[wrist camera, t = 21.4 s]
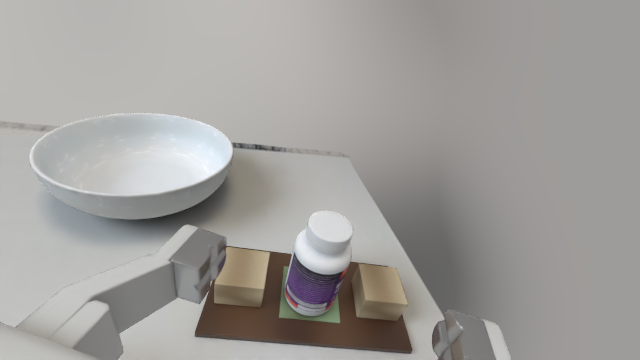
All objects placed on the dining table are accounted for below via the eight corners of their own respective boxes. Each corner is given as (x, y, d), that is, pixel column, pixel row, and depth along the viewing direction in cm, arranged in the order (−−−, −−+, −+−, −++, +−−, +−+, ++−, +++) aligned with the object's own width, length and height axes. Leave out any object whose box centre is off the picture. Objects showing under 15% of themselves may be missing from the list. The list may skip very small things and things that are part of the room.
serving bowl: (236, 157, 49) (238, 121, 46) (223, 247, 32) (225, 201, 29) (98, 144, 44) (88, 101, 40) (-3, 243, 27) (-36, 186, 23)
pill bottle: (337, 319, 27) (367, 251, 22) (282, 317, 26) (301, 245, 21) (330, 273, 32) (354, 208, 27) (284, 270, 31) (299, 201, 26)
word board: (386, 269, 35) (396, 249, 33) (410, 353, 27) (425, 334, 25) (224, 249, 32) (225, 226, 30) (194, 336, 24) (193, 312, 22)
